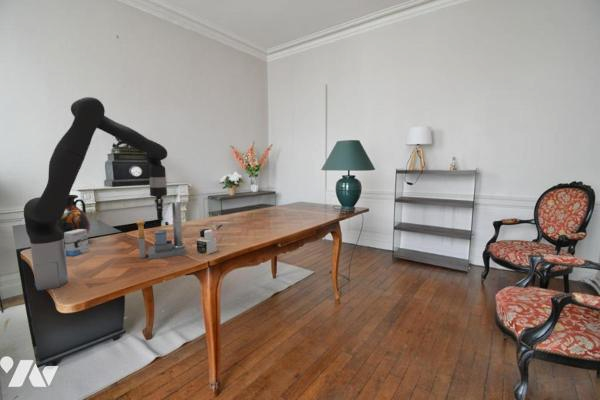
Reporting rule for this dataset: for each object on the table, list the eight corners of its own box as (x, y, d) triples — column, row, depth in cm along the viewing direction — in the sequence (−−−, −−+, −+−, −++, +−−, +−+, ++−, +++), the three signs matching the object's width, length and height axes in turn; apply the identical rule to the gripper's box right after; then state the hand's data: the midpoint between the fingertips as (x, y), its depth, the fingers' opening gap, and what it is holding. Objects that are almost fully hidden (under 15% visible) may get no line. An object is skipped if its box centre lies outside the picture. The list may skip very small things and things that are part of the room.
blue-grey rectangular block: (167, 249, 141) (166, 232, 140) (156, 250, 138) (154, 233, 137) (166, 246, 145) (165, 230, 144) (155, 248, 143) (154, 231, 142)
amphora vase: (49, 253, 141) (42, 199, 137) (37, 246, 153) (31, 196, 149) (98, 244, 158) (94, 195, 155) (84, 238, 170) (79, 193, 167)
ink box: (73, 256, 137) (71, 233, 136) (65, 255, 138) (63, 232, 137) (89, 251, 146) (87, 229, 144) (82, 250, 147) (79, 228, 145)
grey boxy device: (196, 253, 144) (195, 230, 142) (207, 249, 150) (206, 227, 148) (206, 255, 140) (205, 232, 139) (217, 251, 147) (216, 229, 145)
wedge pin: (146, 243, 137) (144, 221, 135) (137, 244, 135) (136, 222, 134) (146, 242, 140) (144, 220, 138) (138, 242, 138) (136, 220, 137)
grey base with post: (186, 254, 141) (184, 203, 138) (139, 260, 132) (135, 206, 128) (183, 247, 154) (181, 200, 150) (140, 252, 144) (137, 202, 140)
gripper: (167, 187, 133) (168, 220, 135) (166, 185, 146) (167, 215, 148) (149, 187, 130) (151, 221, 132) (149, 185, 142) (151, 216, 144)
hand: (159, 218), depth 140 cm, fingers open, 8 cm apart
